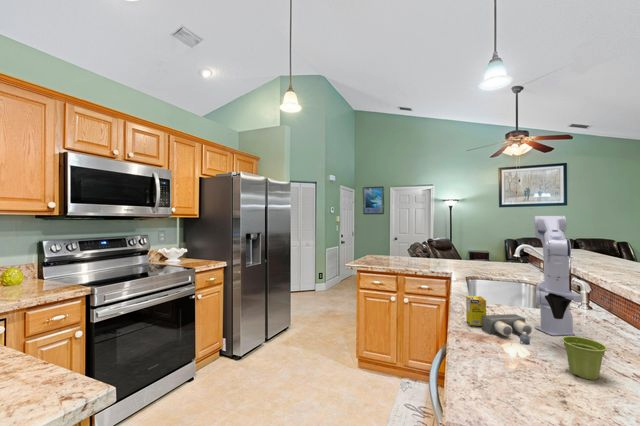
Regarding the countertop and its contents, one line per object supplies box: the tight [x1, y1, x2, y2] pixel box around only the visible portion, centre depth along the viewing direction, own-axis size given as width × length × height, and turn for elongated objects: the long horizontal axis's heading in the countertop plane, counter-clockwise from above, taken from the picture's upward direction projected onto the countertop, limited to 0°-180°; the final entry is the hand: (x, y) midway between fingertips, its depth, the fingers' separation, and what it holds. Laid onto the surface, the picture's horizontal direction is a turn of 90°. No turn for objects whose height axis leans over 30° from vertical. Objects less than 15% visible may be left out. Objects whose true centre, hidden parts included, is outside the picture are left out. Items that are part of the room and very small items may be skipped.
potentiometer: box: [519, 332, 531, 345], centre depth 104 cm, size 4×3×4 cm
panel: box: [481, 313, 526, 336], centre depth 115 cm, size 14×5×6 cm, turn 96°
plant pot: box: [561, 335, 608, 380], centre depth 83 cm, size 9×9×9 cm
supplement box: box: [465, 295, 487, 329], centre depth 122 cm, size 6×6×11 cm
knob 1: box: [494, 321, 512, 337], centre depth 113 cm, size 4×10×4 cm, turn 6°
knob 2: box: [513, 320, 533, 336], centre depth 113 cm, size 4×10×4 cm, turn 6°
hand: (558, 318), depth 98 cm, fingers closed
